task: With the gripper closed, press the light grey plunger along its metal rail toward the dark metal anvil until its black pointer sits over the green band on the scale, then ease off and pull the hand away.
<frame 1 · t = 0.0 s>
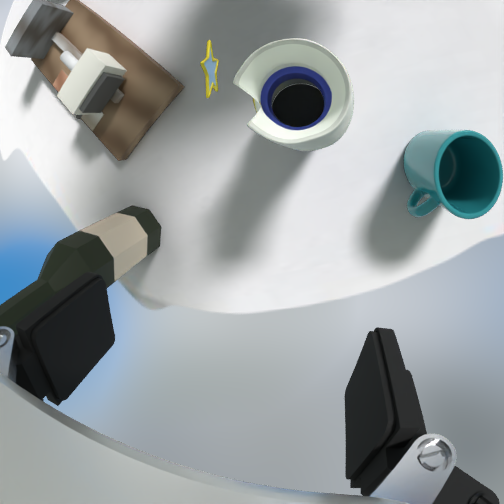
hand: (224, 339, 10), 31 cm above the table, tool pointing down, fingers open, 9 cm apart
plunger: (78, 80, 32), point 6 cm above the table, slide at 0.0 cm
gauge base: (95, 66, 36), on the table
cup: (425, 171, 34), on the table
wine bottle: (139, 230, 45), on the table
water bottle: (301, 114, 35), on the table
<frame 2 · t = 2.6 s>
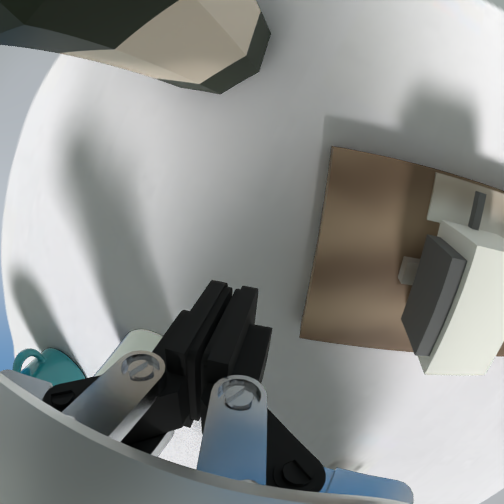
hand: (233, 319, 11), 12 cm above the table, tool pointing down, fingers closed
plunger: (501, 287, 14), point 6 cm above the table, slide at 0.0 cm
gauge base: (492, 274, 19), on the table
cup: (64, 362, 35), on the table
wine bottle: (214, 44, 18), on the table
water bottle: (153, 356, 29), on the table
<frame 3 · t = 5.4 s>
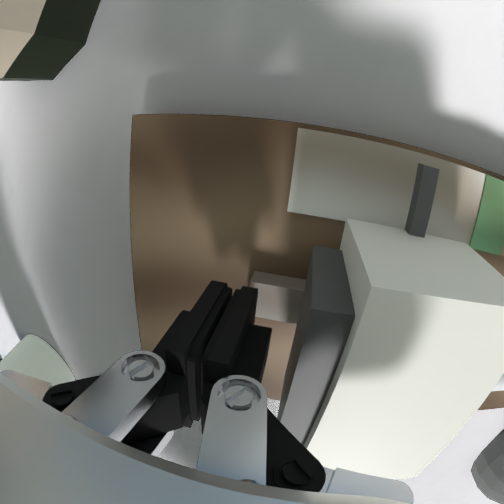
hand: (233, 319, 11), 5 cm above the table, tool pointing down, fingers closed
plunger: (464, 343, 8), point 6 cm above the table, slide at 1.6 cm, touching gripper
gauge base: (443, 298, 14), on the table
wine bottle: (55, 27, 12), on the table
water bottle: (48, 362, 24), on the table
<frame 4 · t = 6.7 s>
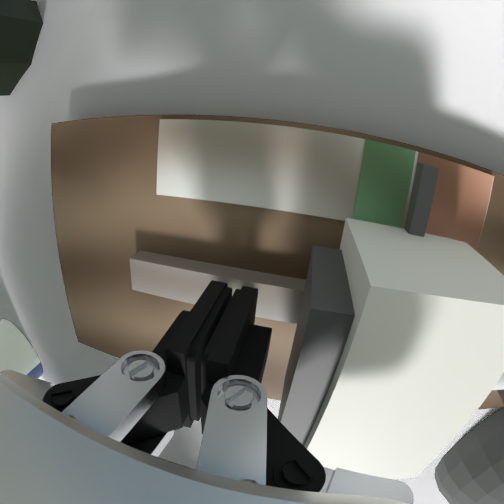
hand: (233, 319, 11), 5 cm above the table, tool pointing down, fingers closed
plunger: (465, 342, 8), point 6 cm above the table, slide at 7.1 cm, touching gripper
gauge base: (350, 283, 14), on the table
wine bottle: (12, 49, 13), on the table
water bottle: (19, 345, 24), on the table
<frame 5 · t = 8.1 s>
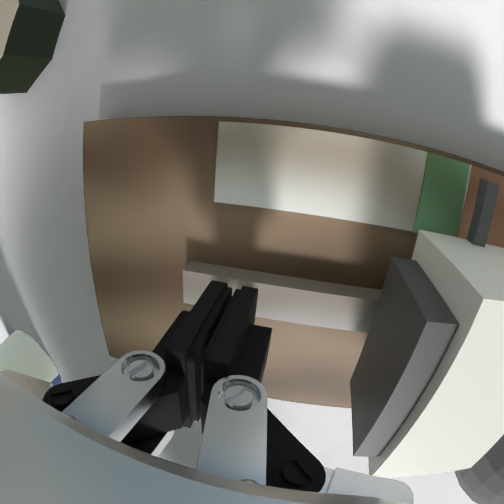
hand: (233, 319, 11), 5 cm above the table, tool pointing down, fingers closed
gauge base: (399, 289, 14), on the table
wine bottle: (28, 43, 12), on the table
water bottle: (34, 357, 24), on the table
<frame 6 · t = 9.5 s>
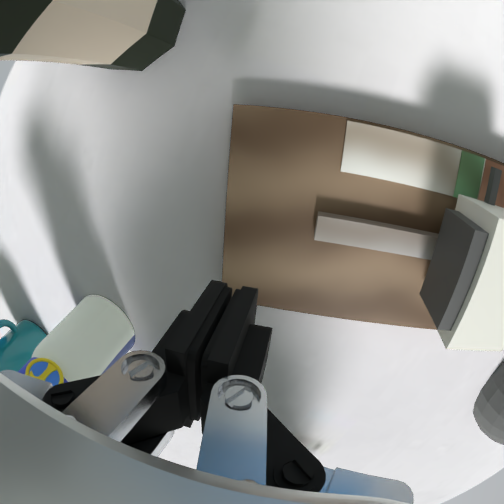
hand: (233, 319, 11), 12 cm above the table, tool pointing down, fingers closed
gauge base: (440, 237, 20), on the table
cup: (37, 334, 36), on the table
wine bottle: (139, 27, 17), on the table
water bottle: (105, 321, 30), on the table
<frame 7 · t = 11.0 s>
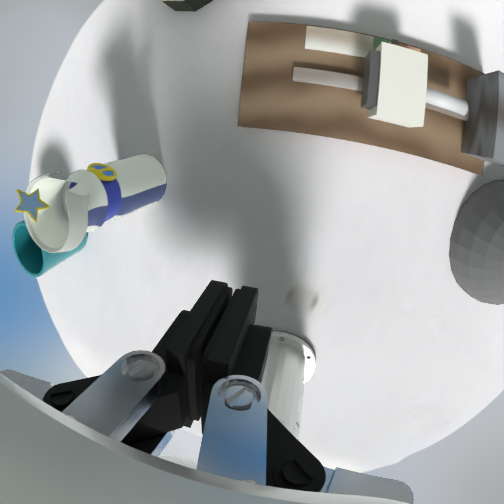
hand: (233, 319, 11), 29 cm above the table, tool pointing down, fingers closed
plunger: (419, 82, 24), point 6 cm above the table, slide at 7.3 cm
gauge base: (375, 91, 31), on the table
cup: (70, 219, 46), on the table
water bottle: (143, 178, 41), on the table
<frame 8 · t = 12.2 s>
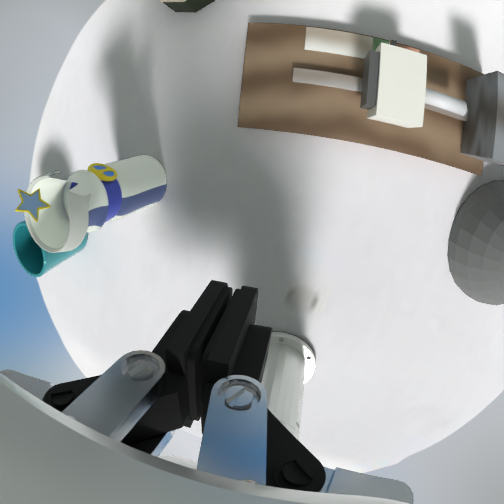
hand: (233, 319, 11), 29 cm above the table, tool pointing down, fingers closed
plunger: (418, 83, 24), point 6 cm above the table, slide at 7.3 cm
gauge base: (374, 91, 31), on the table
cup: (71, 219, 46), on the table
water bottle: (143, 179, 41), on the table
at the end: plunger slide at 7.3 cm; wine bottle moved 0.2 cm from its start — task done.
